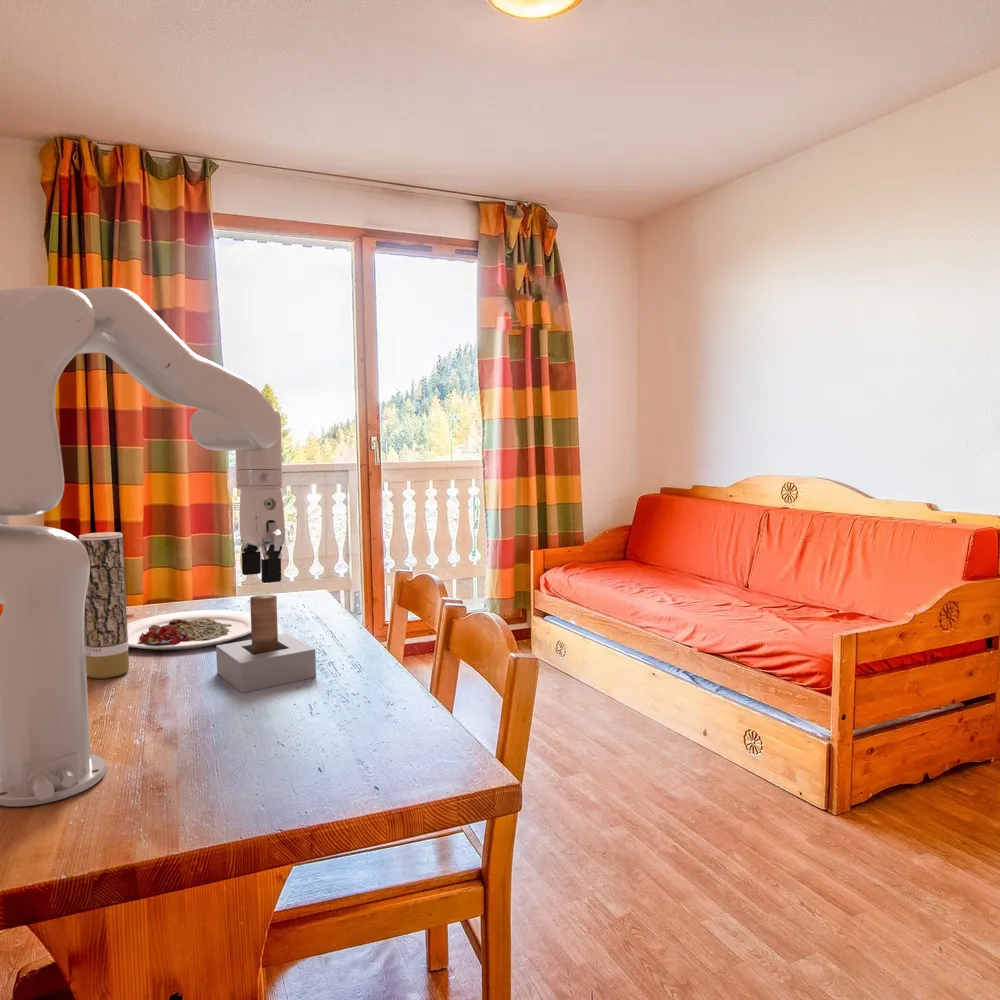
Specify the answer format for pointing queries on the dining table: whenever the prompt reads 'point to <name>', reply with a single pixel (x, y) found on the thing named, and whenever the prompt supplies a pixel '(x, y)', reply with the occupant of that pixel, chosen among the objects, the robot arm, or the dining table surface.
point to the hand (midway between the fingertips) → (261, 578)
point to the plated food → (188, 629)
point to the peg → (264, 624)
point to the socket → (265, 664)
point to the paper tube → (105, 606)
